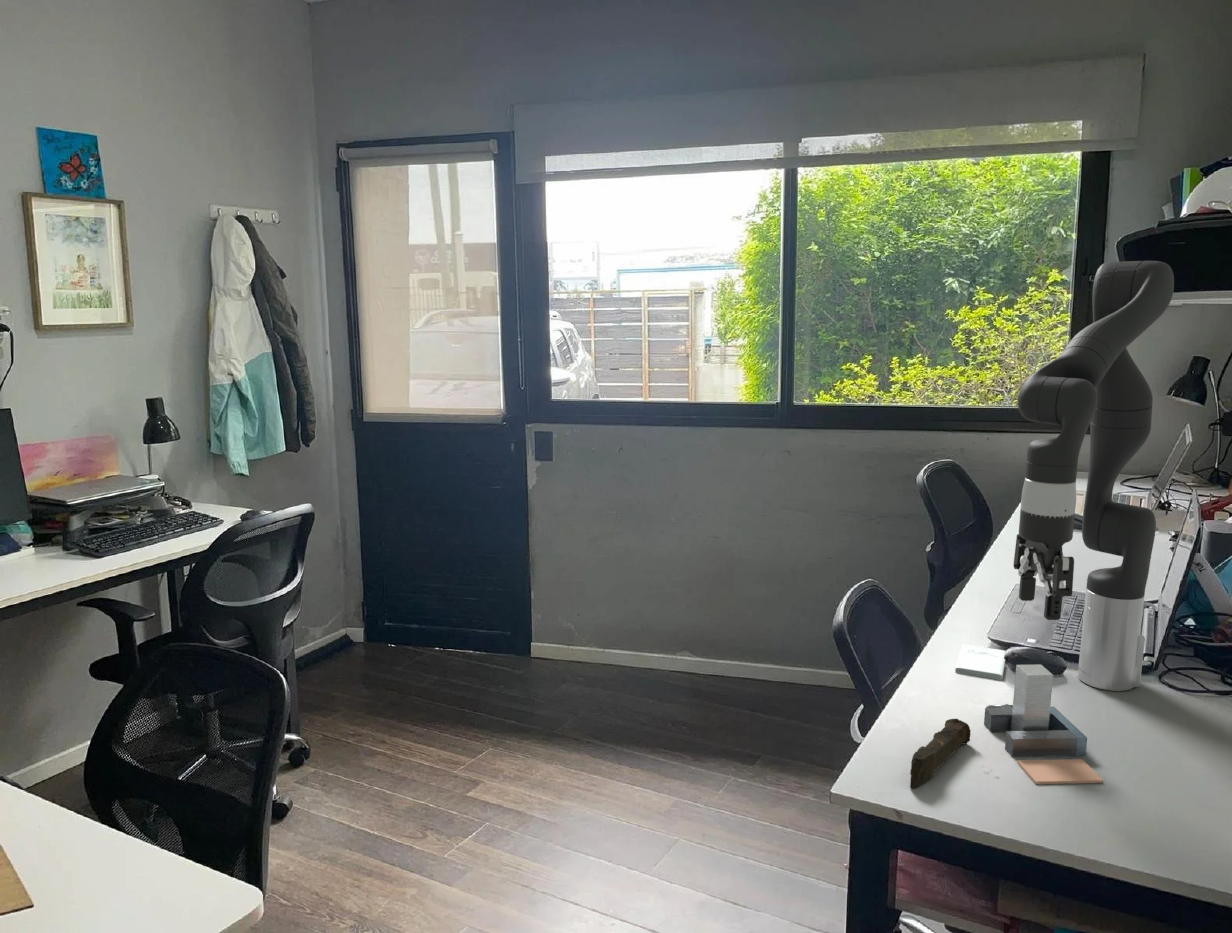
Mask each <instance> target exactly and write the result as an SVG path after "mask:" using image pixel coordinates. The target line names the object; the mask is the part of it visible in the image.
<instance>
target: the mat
mask: <svg viewBox="0 0 1232 933" xmlns="http://www.w3.org/2000/svg"><path fill="white" fill-rule="evenodd" d="M1016 764H1017V765H1018V766H1019V768H1020V769H1022V771H1023V772H1024V773H1025V774H1026V775H1027V776H1028V777H1029V778H1030V780H1031V781H1032V782H1033V783H1034V784H1035V785H1049V784H1050V785H1052V784H1053V785H1056V784H1057V785H1058V784H1059V785H1061V784H1102V783H1103V784H1104V779H1103V778H1102V777H1101V776H1100V775H1098V774H1097V772H1096V771H1094V769H1093V768H1092V767H1090V766H1089V765H1088V764H1087V762H1086V761H1084V760H1083V759H1081V758H1079V759H1078V758H1077V759H1028V760H1027V759H1025V760H1022V759H1020V760H1016Z"/></svg>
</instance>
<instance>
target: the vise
mask: <svg viewBox="0 0 1232 933" xmlns="http://www.w3.org/2000/svg"><path fill="white" fill-rule="evenodd" d="M1012 710H1013V704H1008V703H1007V704H996V705H995V704H991V705H990V704H988V705H986V707H984V718H983V726H984V727H985V728H986V729H987V730H988V732H990V733H1001V732H1002V733H1005V743H1004V744H1005V745H1004V750H1005V751H1006V752H1007V753H1008V755H1010V756H1011V757H1012V758H1022V757H1023V758H1026V757H1027V758H1028V757H1034V758H1035V757H1080V756H1081V757H1082V756H1086V754H1087V743H1088V736H1086V735H1085V734H1084V733H1083V732H1082V731H1081V730H1080V729H1079V728H1078V727H1076V725H1075V724H1074V723H1072V722H1071V721H1070V720H1069V719H1068V718H1067V717H1066V716H1065V715H1064V714H1062V713H1061V711H1060V710H1058V709H1057V708H1056V707H1055V706H1050V715H1049V726H1048V731H1011V722H1012Z"/></svg>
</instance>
